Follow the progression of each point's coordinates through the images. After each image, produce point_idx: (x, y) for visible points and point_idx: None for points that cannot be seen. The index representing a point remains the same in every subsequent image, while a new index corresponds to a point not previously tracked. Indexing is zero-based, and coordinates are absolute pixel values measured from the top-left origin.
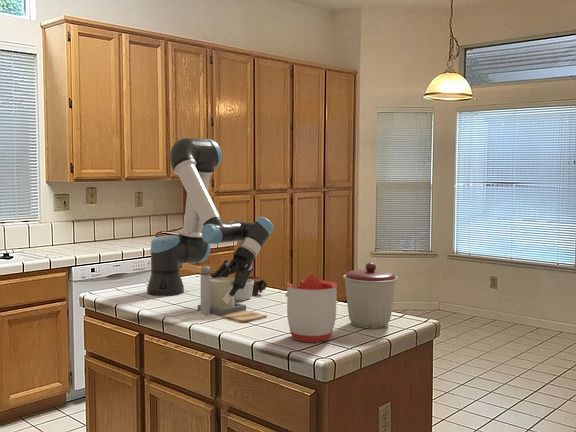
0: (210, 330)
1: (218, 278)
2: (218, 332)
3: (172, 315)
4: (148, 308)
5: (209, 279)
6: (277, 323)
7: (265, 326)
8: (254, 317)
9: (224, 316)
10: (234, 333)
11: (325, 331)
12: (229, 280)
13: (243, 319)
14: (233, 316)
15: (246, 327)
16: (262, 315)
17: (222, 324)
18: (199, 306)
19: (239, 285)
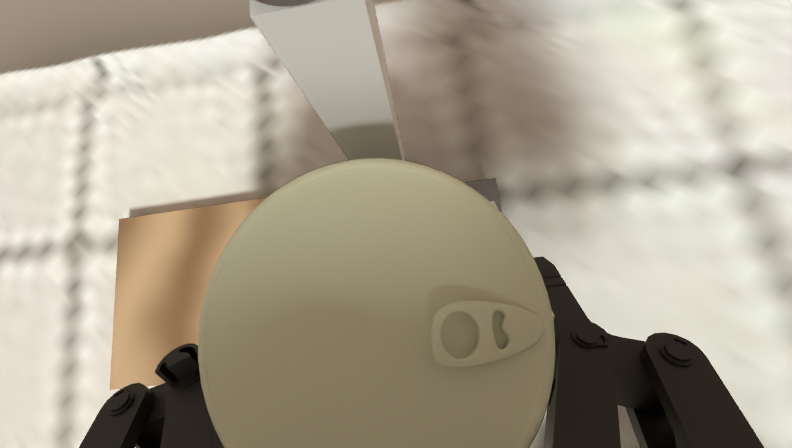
0: (153, 50)
1: (479, 349)
2: (112, 60)
3: (474, 39)
4: (705, 7)
5: (285, 57)
6: (17, 343)
7: (29, 261)
8: (124, 303)
9: (251, 200)
10: (60, 99)
11: None
12: (246, 370)
13: (138, 233)
14: (213, 231)
15: (79, 186)
16: (121, 367)
17: (185, 135)
18: (476, 181)
19: (130, 390)
